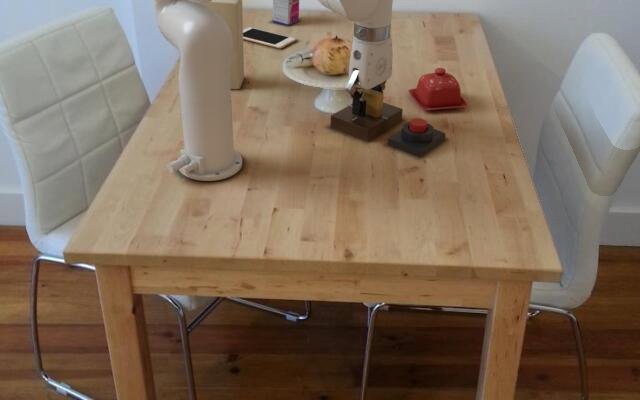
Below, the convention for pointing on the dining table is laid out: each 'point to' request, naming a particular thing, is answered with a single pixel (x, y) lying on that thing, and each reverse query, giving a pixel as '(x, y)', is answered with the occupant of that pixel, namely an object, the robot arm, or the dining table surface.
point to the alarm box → (416, 140)
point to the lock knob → (373, 102)
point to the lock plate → (366, 122)
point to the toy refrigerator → (233, 35)
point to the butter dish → (438, 91)
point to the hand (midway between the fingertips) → (367, 110)
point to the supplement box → (285, 11)
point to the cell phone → (267, 37)
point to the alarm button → (418, 125)
